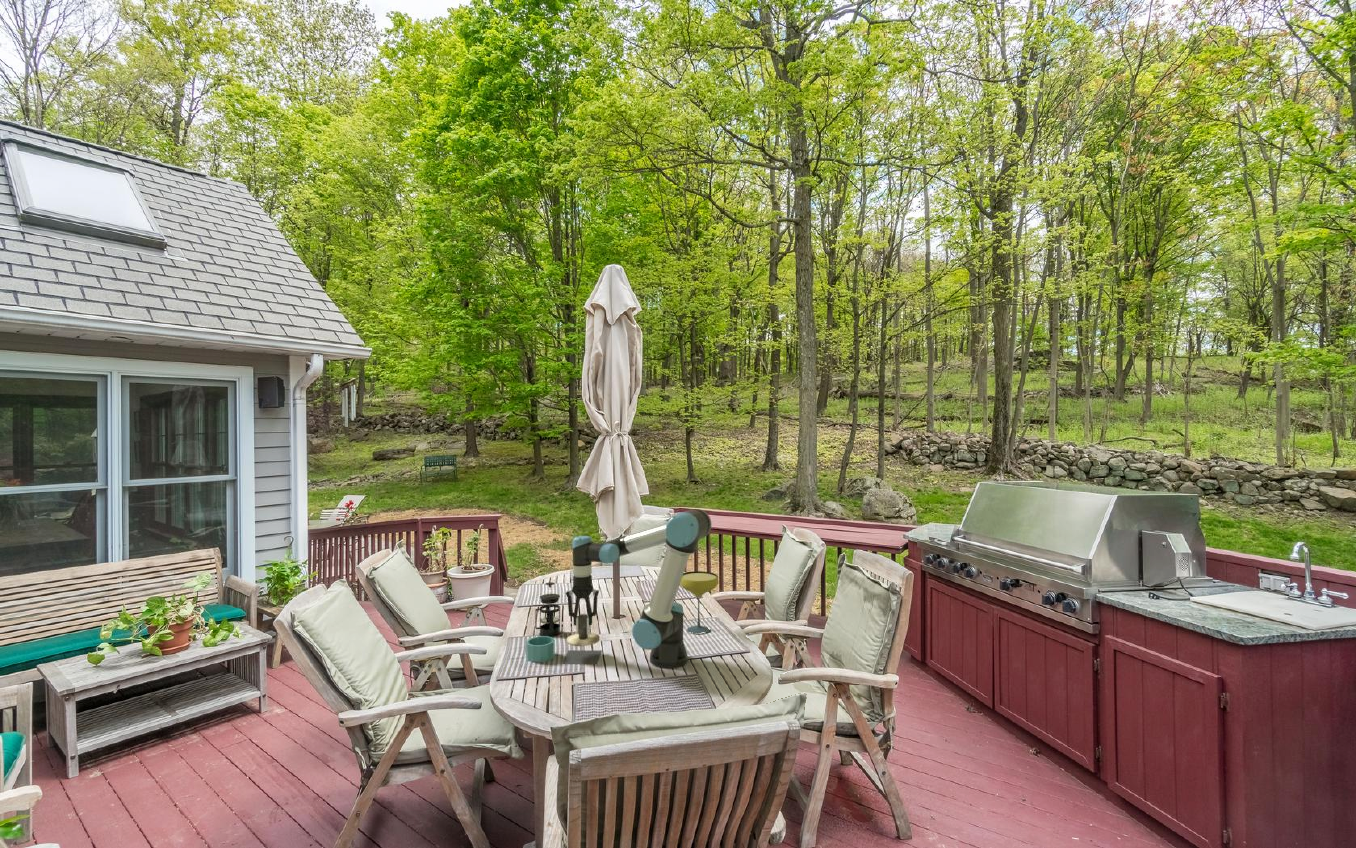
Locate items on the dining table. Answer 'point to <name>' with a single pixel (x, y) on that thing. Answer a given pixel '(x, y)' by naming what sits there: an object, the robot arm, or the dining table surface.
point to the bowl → (540, 649)
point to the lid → (582, 634)
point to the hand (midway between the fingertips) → (583, 633)
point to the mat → (582, 657)
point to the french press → (549, 615)
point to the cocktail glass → (698, 590)
